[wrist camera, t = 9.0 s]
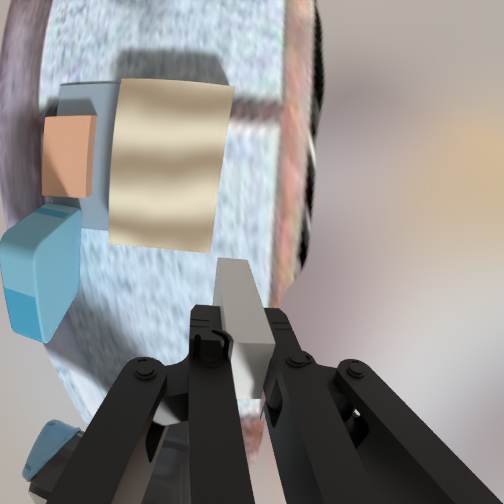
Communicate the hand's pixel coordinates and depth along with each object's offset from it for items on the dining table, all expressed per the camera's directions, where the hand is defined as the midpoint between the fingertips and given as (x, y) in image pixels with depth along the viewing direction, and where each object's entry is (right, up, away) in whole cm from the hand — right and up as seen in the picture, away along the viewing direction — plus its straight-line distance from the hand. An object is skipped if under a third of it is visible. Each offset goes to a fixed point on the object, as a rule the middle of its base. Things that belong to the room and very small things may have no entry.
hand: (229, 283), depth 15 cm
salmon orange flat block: (-19, +12, +11) cm, 25 cm away
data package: (-22, +2, +17) cm, 28 cm away
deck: (-8, +11, +15) cm, 21 cm away
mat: (-17, +12, +14) cm, 25 cm away
